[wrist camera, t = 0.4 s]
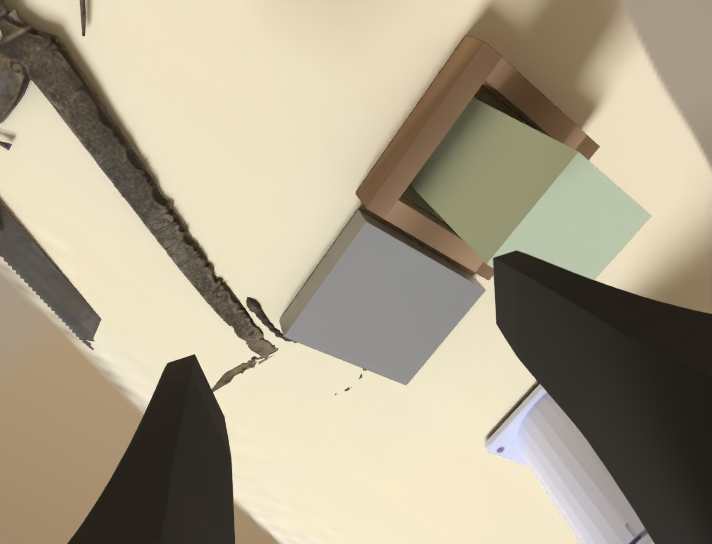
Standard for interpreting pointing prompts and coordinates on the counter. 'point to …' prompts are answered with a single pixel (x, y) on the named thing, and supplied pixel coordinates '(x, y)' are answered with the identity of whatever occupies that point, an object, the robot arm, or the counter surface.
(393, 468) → the counter surface
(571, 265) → the peg
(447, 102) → the socket block
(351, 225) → the rack plate
